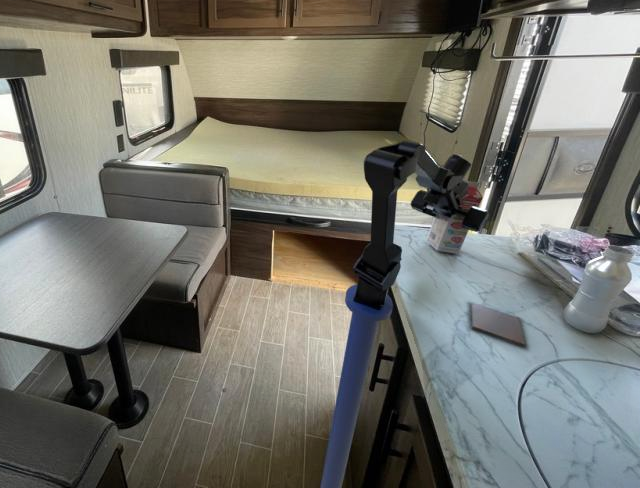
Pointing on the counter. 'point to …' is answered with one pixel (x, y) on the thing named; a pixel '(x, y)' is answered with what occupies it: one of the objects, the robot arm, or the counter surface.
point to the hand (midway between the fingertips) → (451, 221)
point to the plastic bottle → (599, 290)
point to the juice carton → (453, 224)
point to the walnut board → (497, 324)
